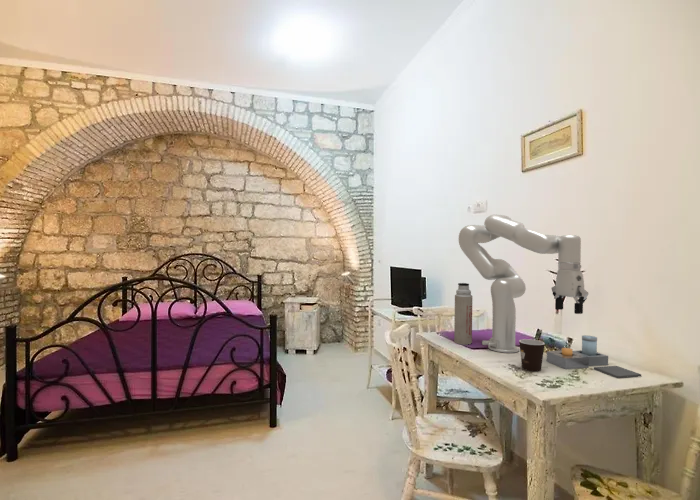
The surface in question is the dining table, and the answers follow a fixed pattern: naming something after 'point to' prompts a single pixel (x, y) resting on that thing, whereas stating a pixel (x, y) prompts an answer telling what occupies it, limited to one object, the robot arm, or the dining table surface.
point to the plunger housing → (567, 360)
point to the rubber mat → (617, 371)
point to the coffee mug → (531, 354)
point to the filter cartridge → (589, 345)
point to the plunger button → (567, 351)
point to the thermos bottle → (463, 315)
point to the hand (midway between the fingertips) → (568, 311)
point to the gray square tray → (595, 359)
